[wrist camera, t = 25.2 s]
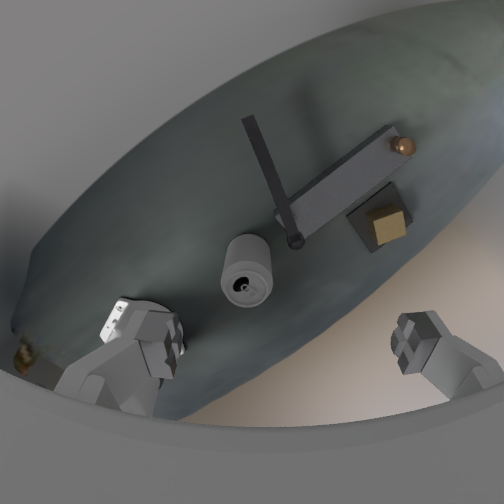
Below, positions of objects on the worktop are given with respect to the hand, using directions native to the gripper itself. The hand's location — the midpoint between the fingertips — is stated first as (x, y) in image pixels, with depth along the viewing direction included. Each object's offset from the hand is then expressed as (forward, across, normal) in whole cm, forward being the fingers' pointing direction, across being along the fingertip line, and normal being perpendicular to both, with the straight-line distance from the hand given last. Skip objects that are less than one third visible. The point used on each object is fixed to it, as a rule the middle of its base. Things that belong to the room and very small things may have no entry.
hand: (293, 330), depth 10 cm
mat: (+37, -21, +8) cm, 43 cm away
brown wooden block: (+36, -21, +8) cm, 43 cm away
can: (+37, +2, +16) cm, 40 cm away
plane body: (+37, -12, +2) cm, 39 cm away
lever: (+30, -1, +2) cm, 30 cm away
